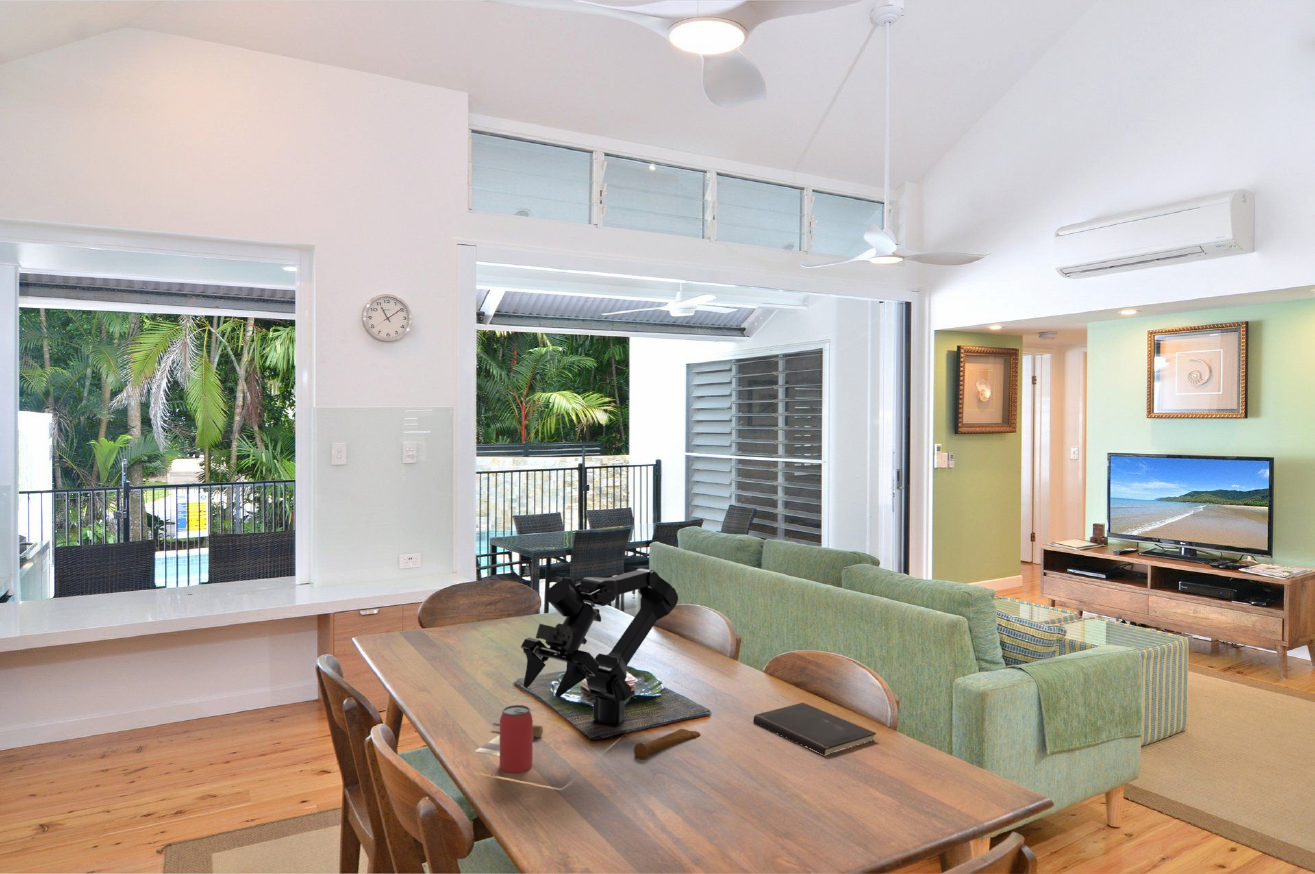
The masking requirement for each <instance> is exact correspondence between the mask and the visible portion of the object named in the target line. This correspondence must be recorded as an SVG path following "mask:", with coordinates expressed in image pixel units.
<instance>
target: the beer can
mask: <svg viewBox="0 0 1315 874" xmlns="http://www.w3.org/2000/svg"><path fill="white" fill-rule="evenodd" d="M501 711H502V713H501V715H500V718H499V724H500V726H499V735H500V756H499V769H500V770H501V771H503V773H509V774H518V773H524V772H527V771H528V770H530V769H531V768H532V766H533V740H534V739H533V725H534V720H533V716H532V713H531V709H530V707H529V706H527V705H524V704H513V705H508V706H506V707H504V708H502V710H501Z"/></svg>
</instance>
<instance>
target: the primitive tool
mask: <svg viewBox="0 0 1315 874" xmlns="http://www.w3.org/2000/svg"><path fill="white" fill-rule="evenodd" d="M700 736H701V733H700V732H699V731H697V730H695V731H694V730H689V729H685V728H680V729H677V730H675V731H673V732H671V733H668V734H665V735H664V736H662V737H658V738H655V739H653V740H650V741H648V742H645V743H643V742H637V743H636V744H635V745H634V747H633V753H634V756H635V758H637V759H638V760H645V759H646V758H647V757H648V756H649V755H651V754H654V753H657V752H660V751H662V750H666V749H668V748H670V747H674V746H675V745H678V744H682V743H684V742H687V741H689V740H693V739H696V738H699V737H700Z"/></svg>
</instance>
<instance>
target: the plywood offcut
mask: <svg viewBox="0 0 1315 874" xmlns="http://www.w3.org/2000/svg"><path fill="white" fill-rule="evenodd" d="M535 738H536V737H533V739H532V740H534V739H535ZM474 752H476V753H480V754H485V755H492V756H497V757H500V734H499V735H497V736H496V737H494V738H493V739H491V740H489V741H487V742H486V743H485V744H483V745H482V746H480V747H479V748H477V749H476V750H474Z"/></svg>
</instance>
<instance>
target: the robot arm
mask: <svg viewBox="0 0 1315 874" xmlns="http://www.w3.org/2000/svg"><path fill="white" fill-rule="evenodd" d="M636 590H637V592H638V594H639V595H640V596H641V597H640V599H639V601H640V602H639V603H640V605H639V607H640V609H639V610H638V612H637V613H636V615H635V616H634V617H633V619H632V620H631V622H630V623H629V624H628V627H627V628H626V629H625V631H624V632H623V634H622V635H621V636H620V638H619V639H618V641H617V642H616V643H615V645H614V646H613V648H612V649H611V651H609V653H607V654H603V653H598V654H597V655H596V656H595V657H594V656H593V655H591V653H590V652H587V651H584V650H580V647H581V645H586V644H587V642H588V640H587V639H586V636H587V634H588V632H589V631H590V628H591V626H592V625H593V622H599V623H601V622H602V616H601V614H600V609H599V608H594V607H593V606H592V605H597V606H601V607H602V606H603V607H605V606H607V605H609V604H611V603H612V602H614V601H615V600H616V599H617V597H618V596H620V595H623V594H626V593H629V592H634V591H636ZM545 598H546V600H547V601H548V603H549V604H551V606H552V607H553V608H554V609H555V611H557V612H558V614H560V615H561V616H562V617H565V619H564V621H563V622H562V623H557V624H556V625H555V626H553V625H547V624H544V623H539V625H538V628H537V632H536V634H535V638H532V637H527V638H525V639H524V640H523V642H522V644H521V645H520V648H521V649H522V651H523V654H525V656H526V660H527V661H526V667H525V668H526V669H525V676H524V680H523V685H522V686H523V687H524V689H528V688H529V687H530V685H532V684H533V682H534V681H535V680H536V678H537V677H538V676H539V674H540V673H541V672H542V671H543V669H544V668H545V667H546V663H545V662H547V661H548V660H549V659H553V660H557V661H561V662H564V663H566V670H565V672H564V674H563V676H562V677H561V680H560V682H559V684H558V687H557V689H556V691H555V694H554V696H555V697H556V698H557V699H559V698H560V697H561V696H563V695H564V694H565V693H567V692H568V691H569V690H571V689H572V688H573V687H575V686H576V685H578V684H579V683H581V682H582V681H584V680H585V681H586V683H587V688H588V692H589V695H592V696H594V701H593V702H592V708H593V709H592V719H593V720H592V721H591V724H593V725H599V726H605V727H609V728H610V727H612V728H618V727H619V726H621V724H623V723H624V722H626V721H627V720H628V716H625V714H626V713H625V711H626V710H625V706H626V705H625V703H626V701H627V699H629V698H630V697H631V694H632V693H631V692H632V687H631V685H630V684H628V682H627V681H626V679H627V677H628V673H627V671H628V669H627V668H628V667H627V666H628V664H629V663H630V661H631V660H632V658H633V657H634V656H635V654H636V652H637V651H638V650H639V648H640V647H641V646H642V644H643V642H644V641H645V639H646V638H647V636H648V635H649V633H650V632H651V630H652V629H653V627H654V626H655V624H656V623H657V621H658V620H661V619H663V618H664V617H667V616H668V615H670V613H671V612H672V611H673V610H674V609H675V608H676V606H677V604H678V601H679V594H678V593H677V591H676V589H675V587H673V586H672V585H671V584H670V583H669V582H667V581H666V580H665V579H664V578H662V577H661V576H659V574H658V572H656V571H655V570H654V569H648V568H642V567H641V568H637V569H636V570H633V571H629V572H626V573H621V574H618V575H614V576H610V577H599V576H598V577H595V576H592V577H591V576H588V577H587V576H586V577H584V578H582V579H581V580H580V582H579V583H577V584H575V582H574V581H573V580H572V579H571V578H570V577H567V576H566V577H565V576H563V577H562V579H561V580H560V581H557V582H556V583H554V584H553V585H551V586H550V587H549V588H548V589H547V592H546V597H545ZM541 640H544V641H545V642H544V643H545V644H546V645H545V644H544V643H543V641H541ZM547 646H549V647H547Z"/></svg>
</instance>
